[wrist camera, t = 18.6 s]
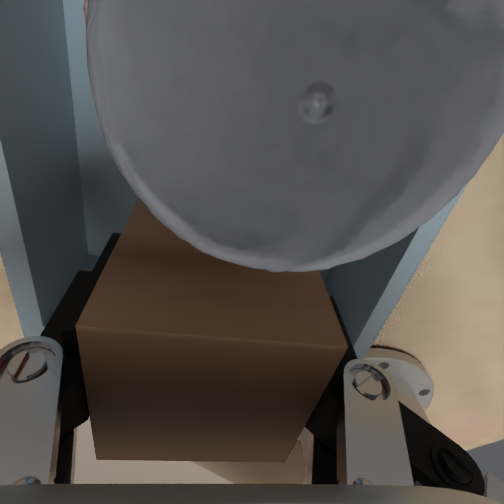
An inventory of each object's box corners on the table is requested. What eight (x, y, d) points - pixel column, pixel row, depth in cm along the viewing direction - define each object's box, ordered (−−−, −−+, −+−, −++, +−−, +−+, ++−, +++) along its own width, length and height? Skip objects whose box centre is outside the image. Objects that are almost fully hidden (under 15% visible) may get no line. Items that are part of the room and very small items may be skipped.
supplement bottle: (168, -80, 10) (-523, -1325, 1) (349, -46, 11) (1076, -507, 2) (170, 120, 13) (37, 321, 4) (309, 136, 14) (463, 340, 5)
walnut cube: (266, 326, 13) (284, 462, 9) (138, 315, 12) (96, 459, 8) (300, 220, 10) (347, 346, 6) (139, 197, 10) (75, 325, 6)
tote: (328, 285, 20) (360, 364, 15) (79, 256, 18) (24, 338, 13) (501, -124, 11) (725, -251, 6) (12, -299, 8) (-277, -741, 4)
